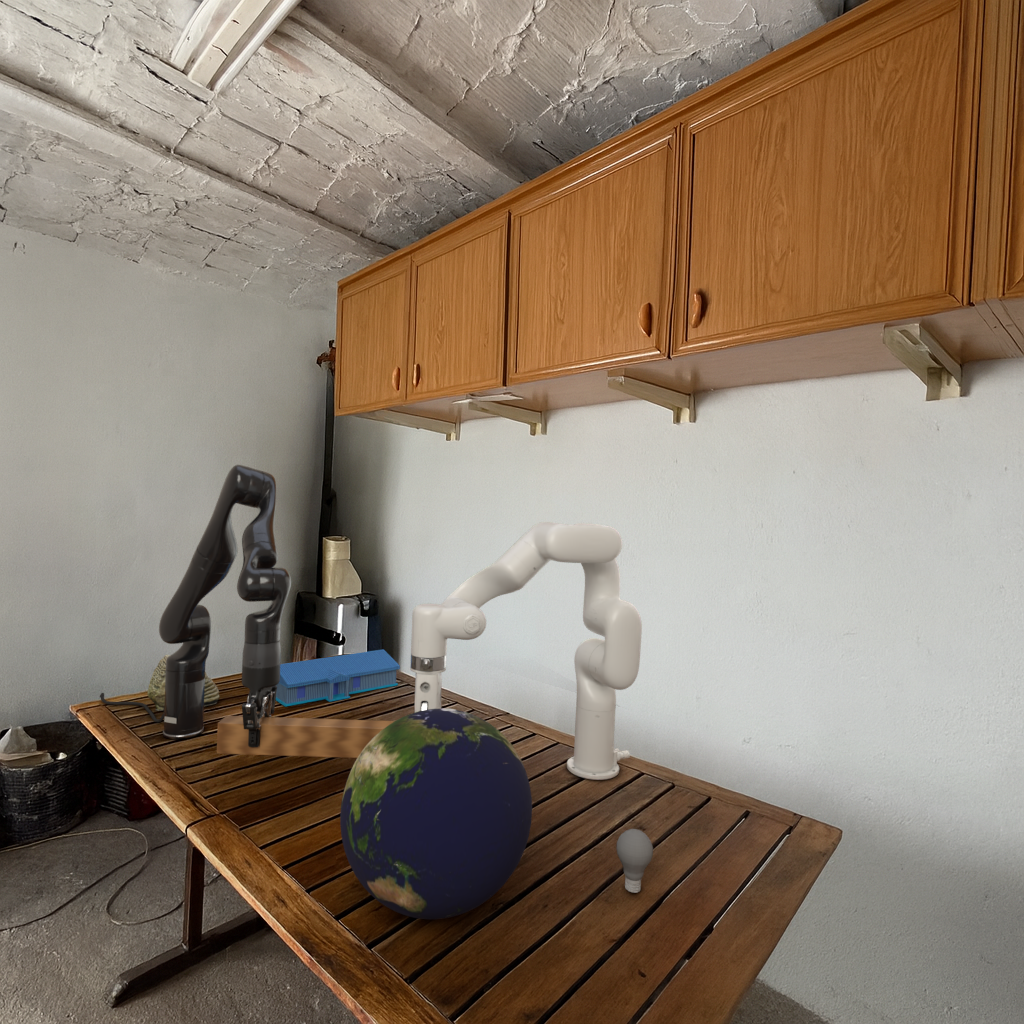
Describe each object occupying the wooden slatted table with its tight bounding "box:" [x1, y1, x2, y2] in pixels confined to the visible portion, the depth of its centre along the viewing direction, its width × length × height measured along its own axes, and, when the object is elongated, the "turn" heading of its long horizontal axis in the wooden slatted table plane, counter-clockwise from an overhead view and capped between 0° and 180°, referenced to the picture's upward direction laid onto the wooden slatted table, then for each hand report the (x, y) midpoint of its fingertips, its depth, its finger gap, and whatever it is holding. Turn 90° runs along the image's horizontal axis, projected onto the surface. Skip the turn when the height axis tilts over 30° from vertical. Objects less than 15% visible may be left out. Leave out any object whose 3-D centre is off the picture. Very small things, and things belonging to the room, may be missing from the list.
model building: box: [275, 649, 401, 707], centre depth 208 cm, size 39×24×10 cm, turn 132°
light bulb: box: [615, 828, 654, 894], centre depth 106 cm, size 6×6×10 cm
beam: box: [216, 715, 396, 759], centre depth 135 cm, size 51×4×6 cm, turn 91°
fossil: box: [147, 654, 221, 712], centre depth 185 cm, size 9×18×15 cm, turn 132°
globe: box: [339, 707, 533, 920], centre depth 100 cm, size 30×30×30 cm
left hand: (258, 741), depth 134 cm, fingers closed on beam, 4 cm apart
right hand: (425, 746), depth 135 cm, fingers closed on beam, 4 cm apart
